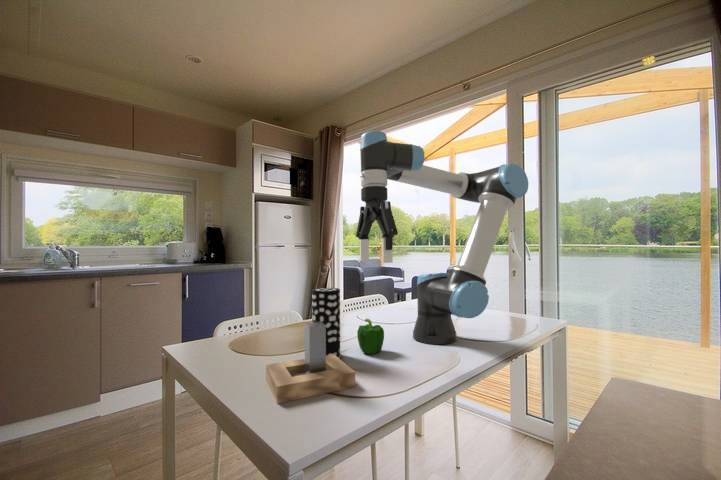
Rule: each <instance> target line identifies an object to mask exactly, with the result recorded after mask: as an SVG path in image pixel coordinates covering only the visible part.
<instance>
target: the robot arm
mask: <svg viewBox="0 0 721 480" xmlns="http://www.w3.org/2000/svg"><path fill="white" fill-rule="evenodd" d="M359 146H360V147H359V150H360V151H359V152H360V153H359V154H360V175H359V177H360V185H361V189H360V200H361V201H362V202H364V203H365V206H360V208H359V217H358V222H357V228H356V233H355V237H356V238H357V239H358V240H359V261H360V262H369V261H370V237H369V234H370V231H371V230H372V229H371V228H372V226H373V223H375V222H377V225H378V226H379V228H380V231H381V233H382V236H381V250H382V251H381V255H382V257H381V259H382V260H381V263H382V264H384V263H385V264H388V263H393V245H394V243H393V239H394V237H395V236H398V234H399V233H398V229H397V225H396V223H395V218H394V216H393V211H392V204H391V201H389V200H388V187H387V186H388V180H390V181H393V182H399V183H401V184H402V183H403V184H407V185H412V186H415V187H420V188H424V189H427V190H432V191H433V190H434V191H437V192H441V193H445V194H449V195H451V196H452V197H453V198H454V199H457V200H459V199H460V200H463V201H466V202H467V201H468V202H470V203H471V202H472V203H478V204H480V205H479V206H478V207H479V208H478V210H477V212H476V214H475V215H476V216H475V217H474V221H473V223H472V226H471V227H470V228H471V229H470V232H469V234H468V236H467V239H466V241H465V245H464V247H463V250H462V252H461V254H460V257H459V259H458V262H457V265H456V266H454V267H451V268H450V270H449V272H441V273H440V272H436V273H427V274H425V273H424V274H423V273H422V274H420V275H418V276H417V280H416V281H417V283H416V288H417V292H416V293H417V317H416V319H415V320H416V321H415V324H414V329H412V338H413V340H415V341H417V342H420V343H422V344H423V343H424V344H429V345H430V344H431V345H449V344H452V343H456V342H457V331H456V329H455V325H454V322H453V319H452V315H453V316H455V317H458V318H461V319H462V318H463V319H473V318H474V319H475V318H476V317H479V316H480V315H481V314H482V313H483V312H484V311H485V310H486V309H487V306H488V304H489V299H490V295H489V294H488V293H489V291H488V288H487V287H486V284H487V280H486V278H485V271H486V269H487V268H488V267H487V266H488V264H489V261H490V258H491V255H492V252H493V250H494V247H495V244H496V242H497V238H498V236H499V233H500V232H501V231H500V230H501V228H502V224H503V221H504V219H505V217H506V214H507V212H508V211H511V210H512V209H514V206H515V203H516V201H517V199H519V198H522V197H524V196H525V195H526V194H527V193H528V190H529V178H528V176H527V173H526V172H525V170H524V169H523V168H522V167H521V166H520V165H519V164H517V163H513V162H512V163H511V162H510V163H507V164H504V163H503V164H501V165H500V166H497V167H493V168H490V169H485V170H483V171H482V170H481V171H478V172H474V173H466V172H461V171H460V172H458V173H455V172H452V171H447V170H444V169H440V168H436V167H432V166H429V165H424V163H425V151H424V149H423V147H422V146H420V145H416V144H415V145H414V144H412V143H410V144H409V143H402V142H393V141H389V140H388V138H387V134H386V133H385V132H384V131H381V130H369V131H366V132H364V133H363V134H361V137H360V145H359Z"/></svg>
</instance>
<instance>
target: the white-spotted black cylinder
mask: <svg viewBox="0 0 721 480" xmlns="http://www.w3.org/2000/svg"><path fill="white" fill-rule="evenodd" d="M311 322H322V323H324V324H325V325H326V355H332V354H334V355H335V356H337V357H338V358H339V359H340V358H341V289H340V288H337V287H318V288H313V289H312V290H311Z"/></svg>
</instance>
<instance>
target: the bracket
mask: <svg viewBox="0 0 721 480" xmlns="http://www.w3.org/2000/svg"><path fill="white" fill-rule="evenodd" d="M304 359H305V372H303V373H297V374H293V377H294V376H299V375H305V374H310V373H316V372H322V371H326V325H325V324H324V323H322V322H312V321H310V322H305V323H304Z"/></svg>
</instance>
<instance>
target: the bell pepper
mask: <svg viewBox="0 0 721 480" xmlns="http://www.w3.org/2000/svg"><path fill="white" fill-rule="evenodd" d="M364 321H365V322H367V324H365V325H361V324H360V325H359V326H358V329H357V341H358V345H359V348H360V350H361V352H362V353H363V354H367V355H373V354H376V353H381V351H382V348H383V345H384V340H385V331H384V328H383V327H382V326H381V325H379V324H375V325H373V323H372V321H371V319H370V318H365V319H364Z"/></svg>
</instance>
